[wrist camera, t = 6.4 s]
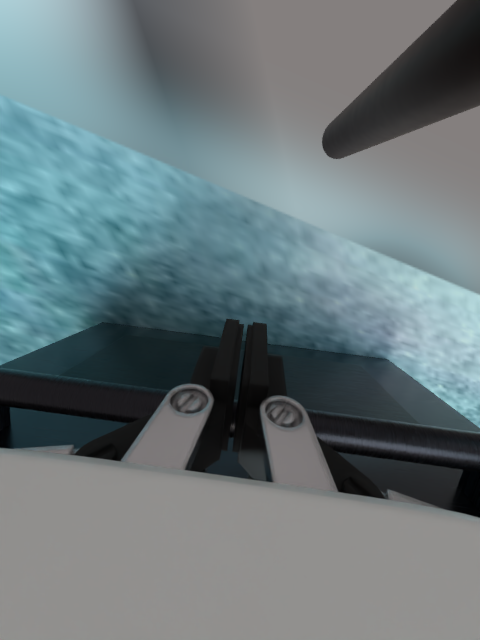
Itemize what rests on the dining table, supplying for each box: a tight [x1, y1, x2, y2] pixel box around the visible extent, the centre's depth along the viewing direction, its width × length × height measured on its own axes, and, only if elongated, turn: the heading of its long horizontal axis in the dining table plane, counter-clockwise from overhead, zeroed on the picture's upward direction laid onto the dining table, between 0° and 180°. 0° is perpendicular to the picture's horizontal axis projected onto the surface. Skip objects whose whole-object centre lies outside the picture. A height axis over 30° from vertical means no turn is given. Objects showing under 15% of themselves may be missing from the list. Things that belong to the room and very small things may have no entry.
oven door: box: [0, 322, 480, 518], centre depth 20 cm, size 5×34×23 cm, turn 84°
